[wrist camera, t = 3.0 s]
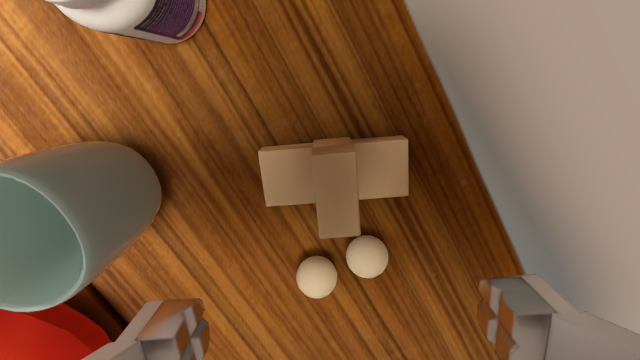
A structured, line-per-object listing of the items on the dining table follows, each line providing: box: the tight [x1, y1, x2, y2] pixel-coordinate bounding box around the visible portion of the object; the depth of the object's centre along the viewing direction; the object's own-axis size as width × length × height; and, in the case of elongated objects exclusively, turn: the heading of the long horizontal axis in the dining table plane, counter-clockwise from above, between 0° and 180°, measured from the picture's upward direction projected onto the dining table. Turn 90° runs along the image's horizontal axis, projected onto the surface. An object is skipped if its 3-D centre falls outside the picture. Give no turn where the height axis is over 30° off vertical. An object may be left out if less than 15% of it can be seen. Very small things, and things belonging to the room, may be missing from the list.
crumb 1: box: [296, 256, 337, 298], centre depth 26 cm, size 3×3×3 cm
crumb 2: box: [346, 235, 388, 278], centre depth 25 cm, size 3×3×3 cm
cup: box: [0, 141, 162, 312], centre depth 20 cm, size 8×8×10 cm
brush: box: [258, 135, 408, 239], centre depth 21 cm, size 10×5×7 cm, turn 95°
